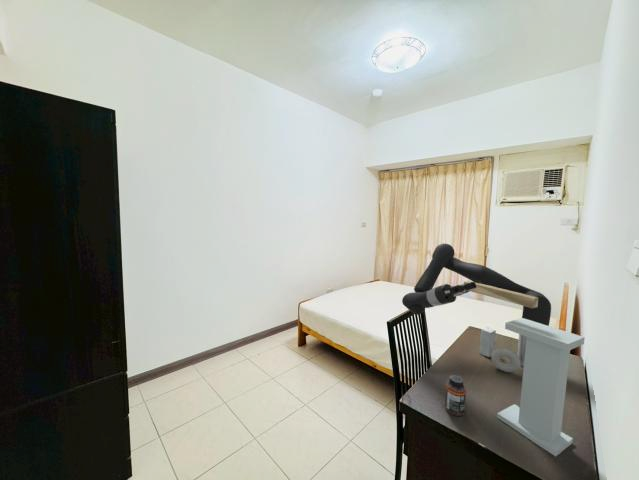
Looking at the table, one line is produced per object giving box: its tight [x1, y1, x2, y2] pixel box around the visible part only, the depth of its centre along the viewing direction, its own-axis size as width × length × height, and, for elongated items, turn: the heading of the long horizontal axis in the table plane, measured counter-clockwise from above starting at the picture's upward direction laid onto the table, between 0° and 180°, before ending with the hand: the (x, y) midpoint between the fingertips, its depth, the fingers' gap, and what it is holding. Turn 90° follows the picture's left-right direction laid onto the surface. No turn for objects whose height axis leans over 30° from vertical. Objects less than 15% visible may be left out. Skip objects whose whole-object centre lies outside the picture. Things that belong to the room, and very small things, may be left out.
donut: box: [490, 347, 521, 373], centre depth 108 cm, size 10×4×10 cm, turn 51°
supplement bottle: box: [444, 374, 467, 417], centre depth 85 cm, size 6×6×11 cm
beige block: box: [463, 280, 538, 308], centre depth 87 cm, size 3×22×3 cm, turn 26°
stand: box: [496, 317, 585, 457], centre depth 77 cm, size 10×15×32 cm, turn 26°
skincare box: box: [479, 326, 497, 358], centre depth 122 cm, size 6×4×12 cm
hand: (478, 284), depth 93 cm, fingers closed on beige block, 3 cm apart
